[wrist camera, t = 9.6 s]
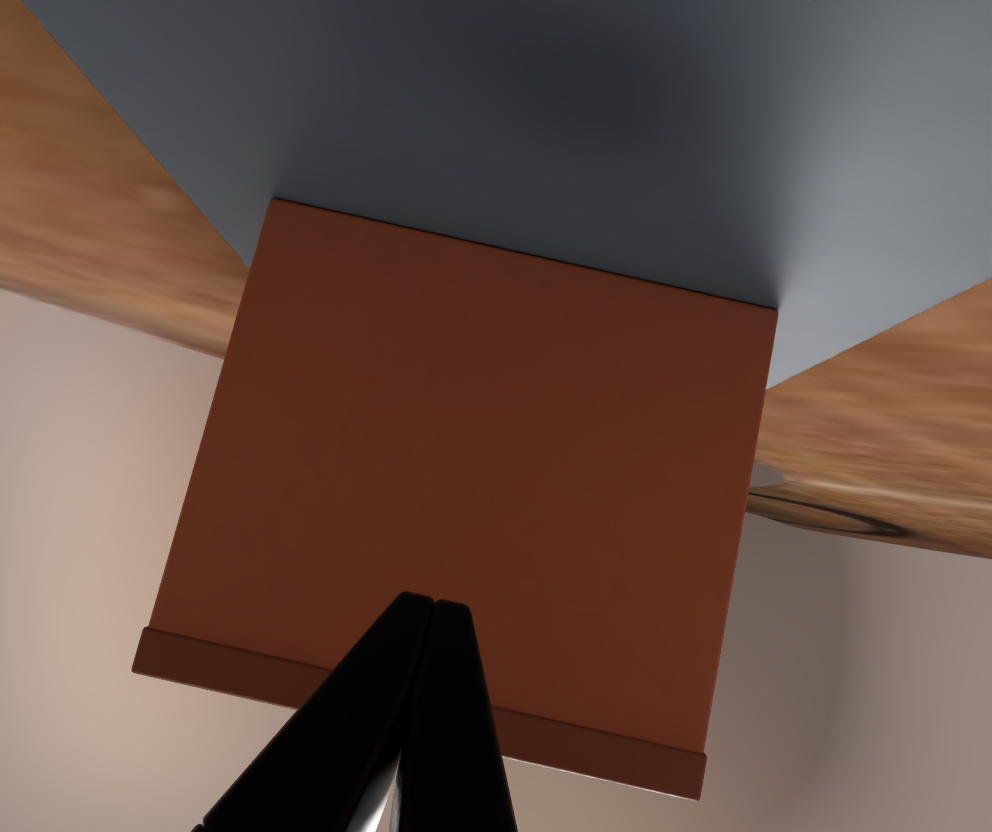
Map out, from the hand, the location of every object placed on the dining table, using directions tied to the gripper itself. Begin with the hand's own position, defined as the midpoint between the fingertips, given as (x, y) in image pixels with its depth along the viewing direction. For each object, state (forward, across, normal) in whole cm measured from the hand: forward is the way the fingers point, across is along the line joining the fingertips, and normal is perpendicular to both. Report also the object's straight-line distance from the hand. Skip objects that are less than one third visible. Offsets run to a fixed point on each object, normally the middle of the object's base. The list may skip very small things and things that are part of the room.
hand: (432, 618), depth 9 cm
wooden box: (+13, 0, +4) cm, 13 cm away
